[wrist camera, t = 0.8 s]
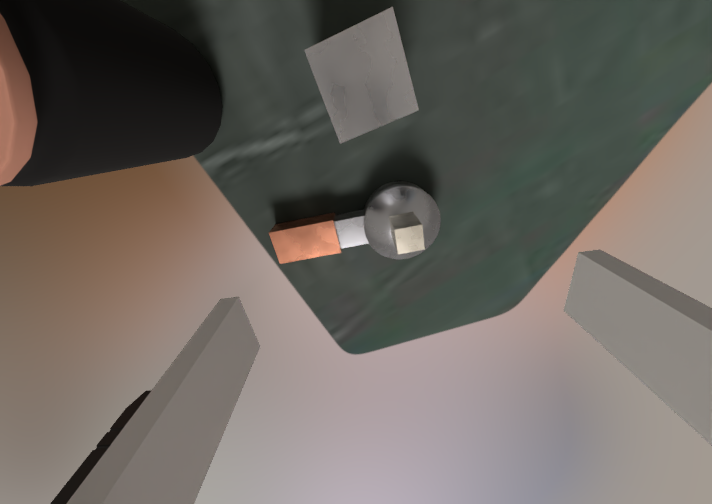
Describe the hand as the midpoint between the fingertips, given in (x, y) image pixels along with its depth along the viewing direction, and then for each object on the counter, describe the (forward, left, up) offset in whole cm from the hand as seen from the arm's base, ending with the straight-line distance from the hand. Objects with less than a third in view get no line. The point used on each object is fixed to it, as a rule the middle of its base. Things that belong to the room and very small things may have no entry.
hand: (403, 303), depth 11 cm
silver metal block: (-8, -4, -20) cm, 22 cm away
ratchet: (+4, 0, -20) cm, 21 cm away
